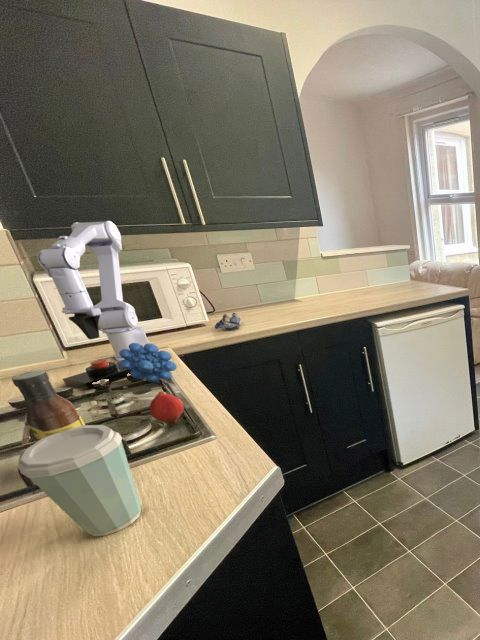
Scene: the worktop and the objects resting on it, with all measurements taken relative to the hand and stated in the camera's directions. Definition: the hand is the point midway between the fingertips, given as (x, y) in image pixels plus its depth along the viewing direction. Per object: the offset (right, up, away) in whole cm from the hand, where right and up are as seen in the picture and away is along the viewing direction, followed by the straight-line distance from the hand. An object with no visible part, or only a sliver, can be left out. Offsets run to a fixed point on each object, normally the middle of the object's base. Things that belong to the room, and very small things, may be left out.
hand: (94, 338), depth 125 cm
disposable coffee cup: (+63, -35, -60) cm, 94 cm away
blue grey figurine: (+11, +9, +46) cm, 48 cm away
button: (+6, -9, -4) cm, 11 cm away
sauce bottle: (+44, -30, -46) cm, 70 cm away
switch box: (+6, -12, -2) cm, 13 cm away
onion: (+48, -23, -30) cm, 60 cm away
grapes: (+25, -14, -7) cm, 29 cm away
